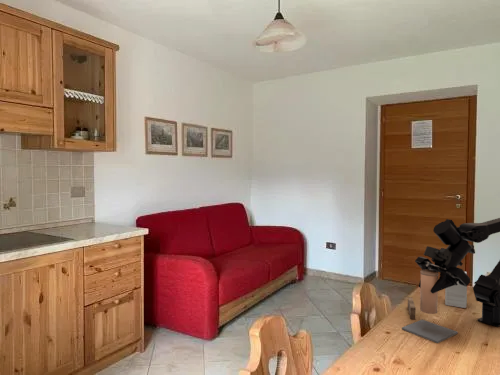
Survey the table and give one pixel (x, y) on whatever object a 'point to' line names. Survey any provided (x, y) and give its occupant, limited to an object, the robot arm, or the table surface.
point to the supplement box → (456, 295)
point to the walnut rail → (411, 308)
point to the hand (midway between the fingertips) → (425, 289)
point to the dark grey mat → (429, 331)
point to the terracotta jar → (428, 292)
